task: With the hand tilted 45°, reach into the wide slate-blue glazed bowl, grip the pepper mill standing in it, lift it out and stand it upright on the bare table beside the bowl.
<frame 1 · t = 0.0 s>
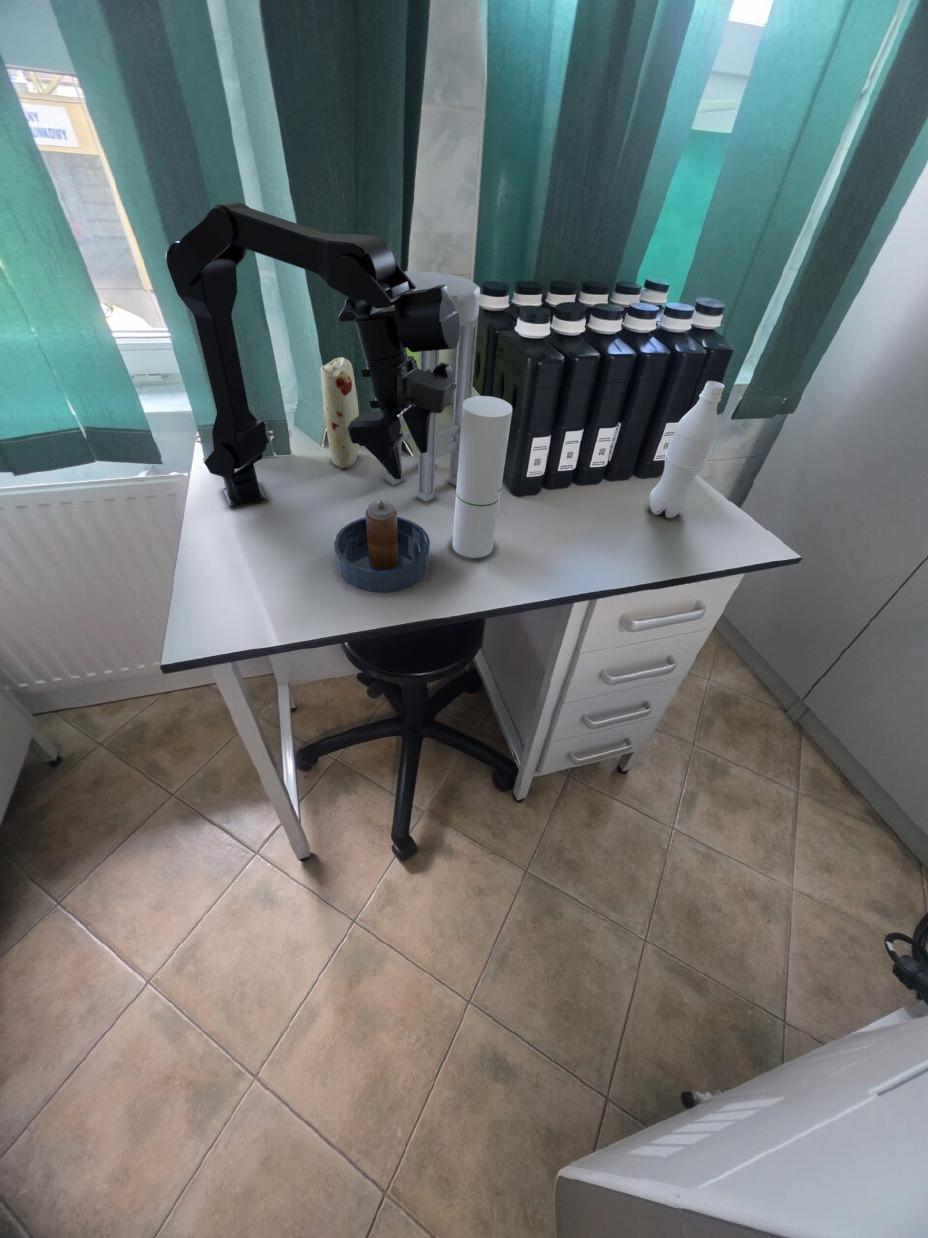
hand: (411, 465, 78), 15 cm above the table, tool pointing down, fingers open, 9 cm apart
cylindrical container: (472, 548, 90), on the table
food model: (346, 461, 108), on the table
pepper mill: (383, 561, 84), resting on bowl
bowl: (383, 563, 85), on the table
water bottle: (662, 511, 103), on the table
stool: (425, 482, 104), on the table
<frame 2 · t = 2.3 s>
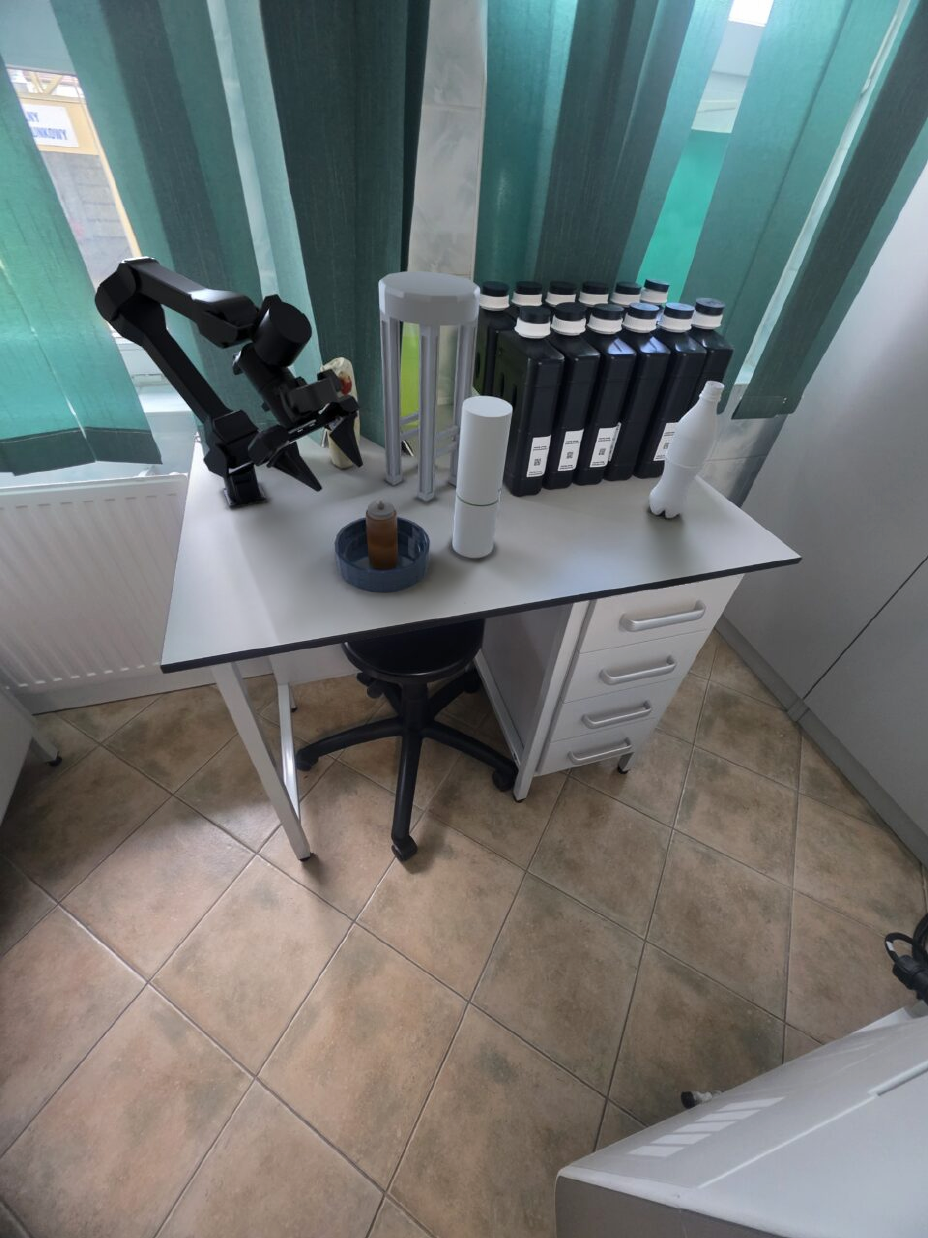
hand: (341, 478, 78), 13 cm above the table, tool tilted 45°, fingers open, 9 cm apart
nothing on the table moved.
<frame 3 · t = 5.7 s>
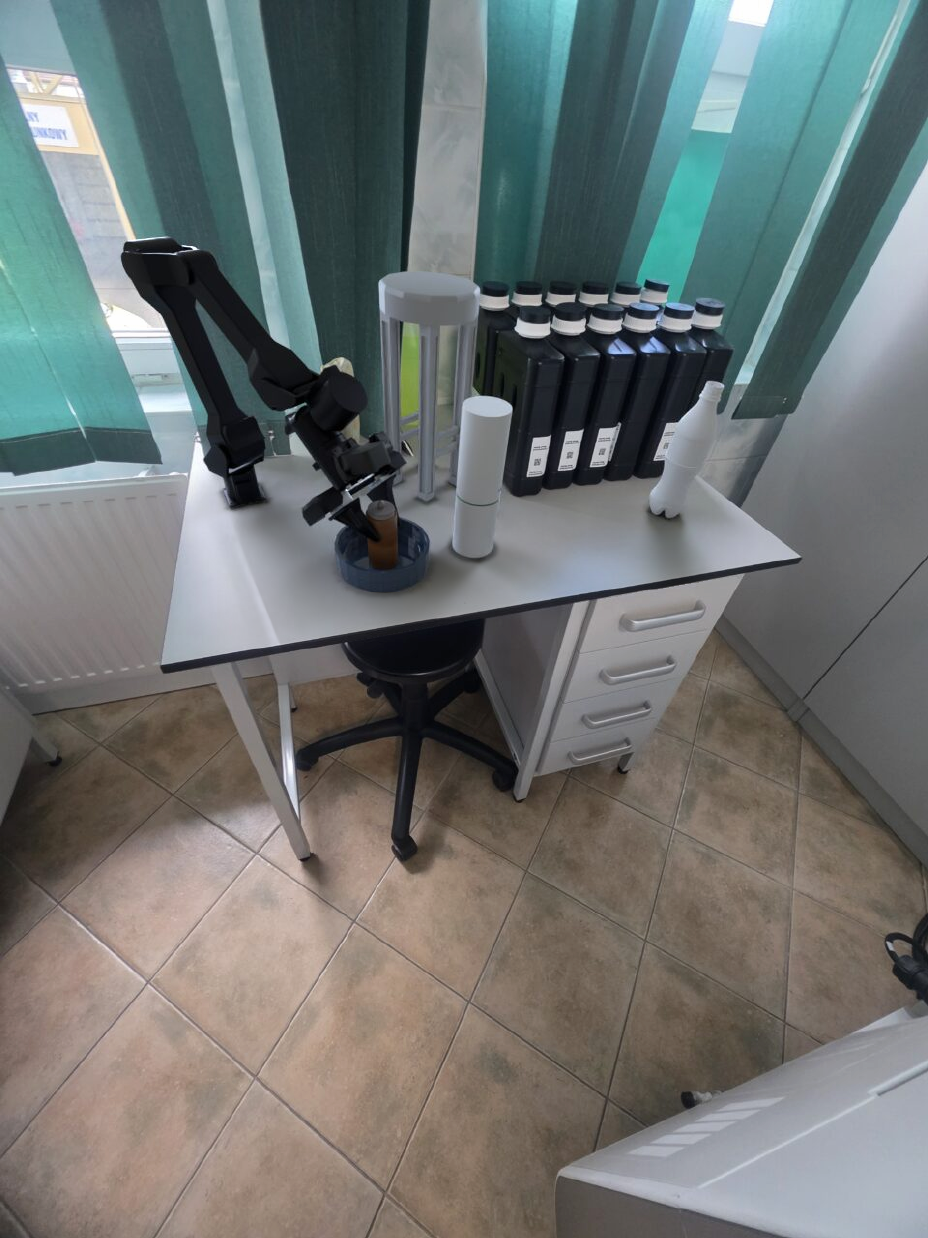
hand: (388, 533, 79), 7 cm above the table, tool tilted 45°, fingers closed on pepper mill, 5 cm apart
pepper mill: (383, 561, 84), point 1 cm above the table, touching bowl, gripper
everything else where it was.
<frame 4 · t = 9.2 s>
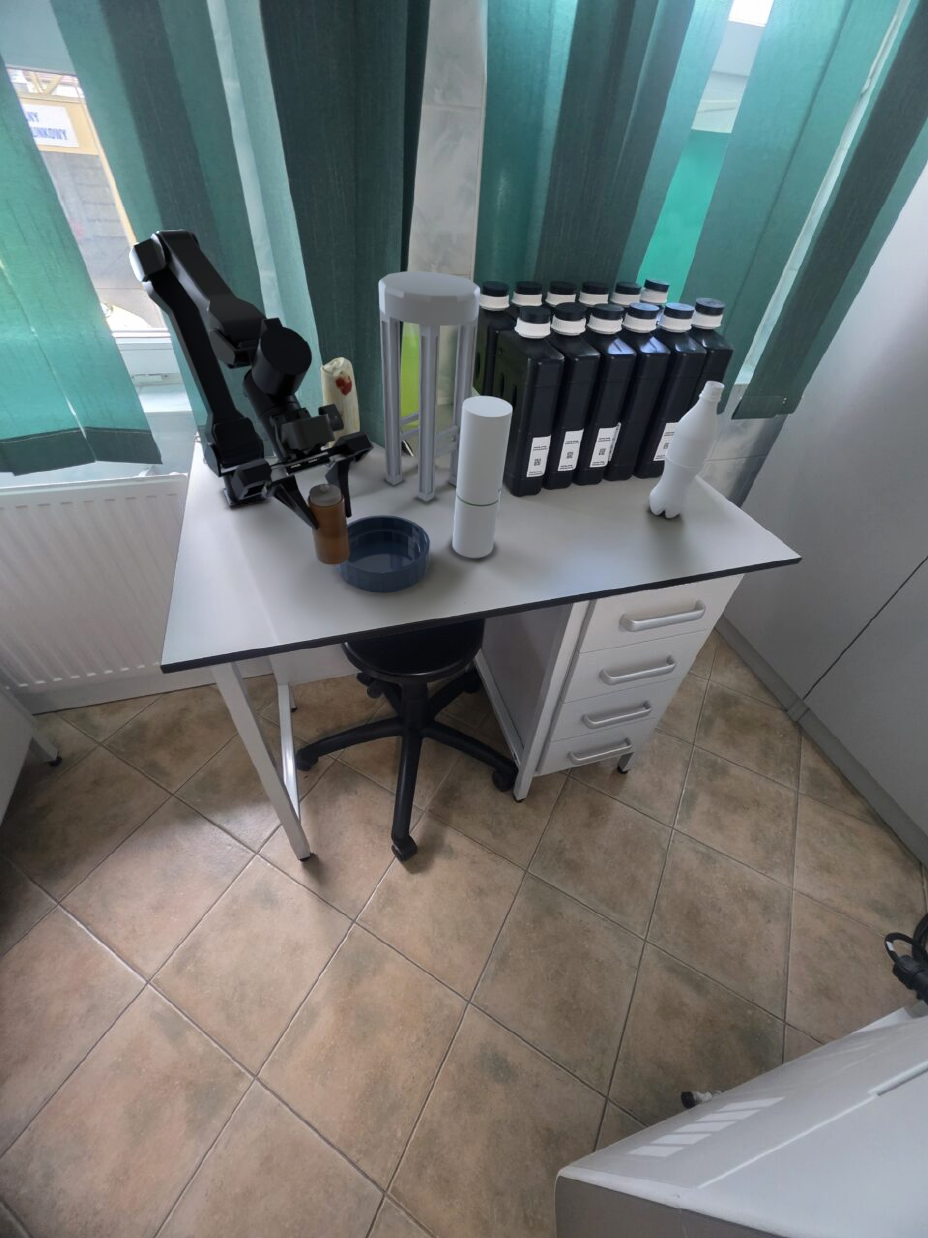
hand: (333, 523, 69), 13 cm above the table, tool tilted 45°, fingers closed on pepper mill, 5 cm apart
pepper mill: (333, 554, 74), point 7 cm above the table, touching gripper
everything else where it was.
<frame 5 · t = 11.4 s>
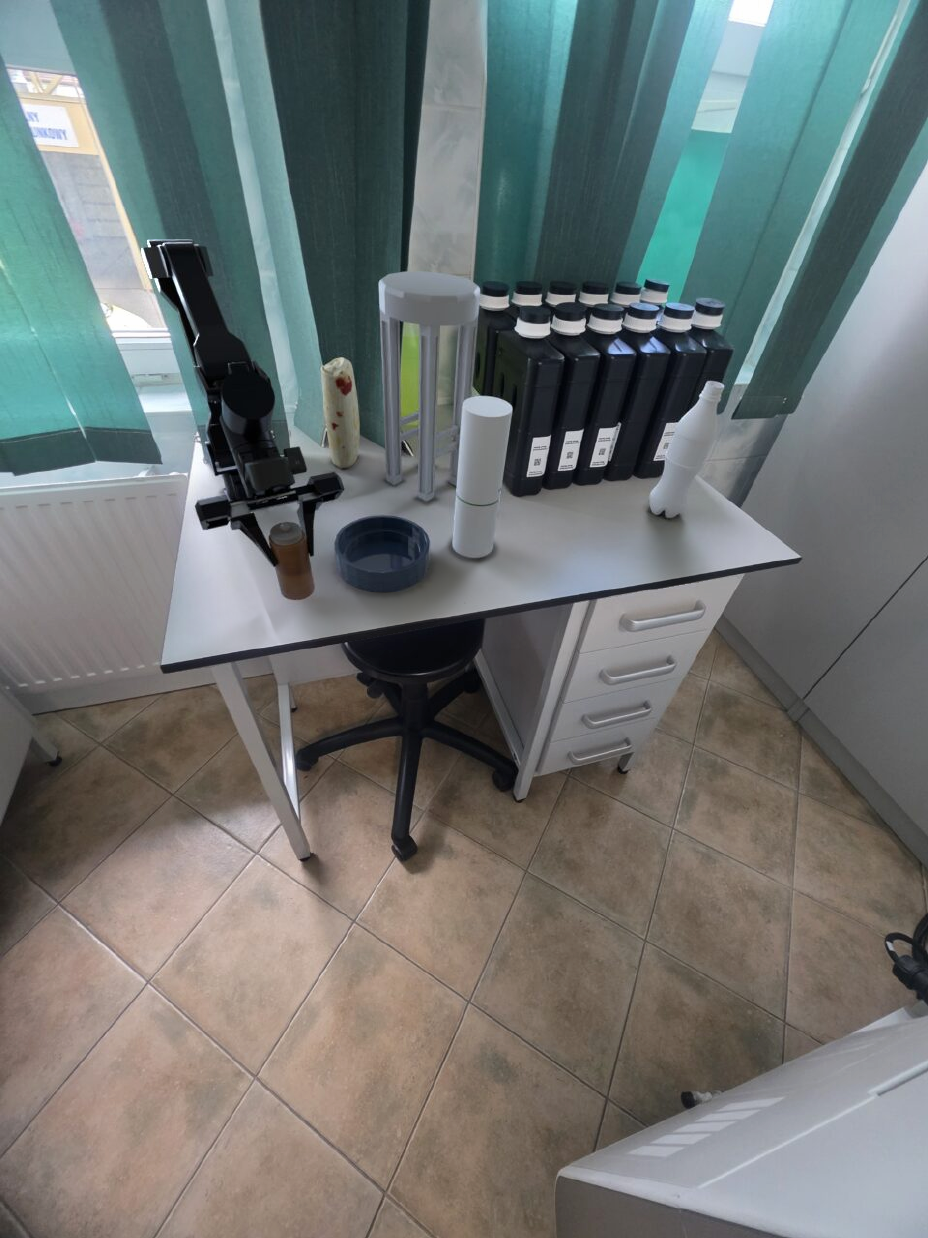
hand: (293, 561, 69), 9 cm above the table, tool tilted 45°, fingers closed on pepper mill, 5 cm apart
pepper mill: (298, 589, 74), point 3 cm above the table, touching gripper
everything else where it was.
when the fingers open (6 cm above the table, at t = 12.7 s): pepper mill stays where it is, on the table.
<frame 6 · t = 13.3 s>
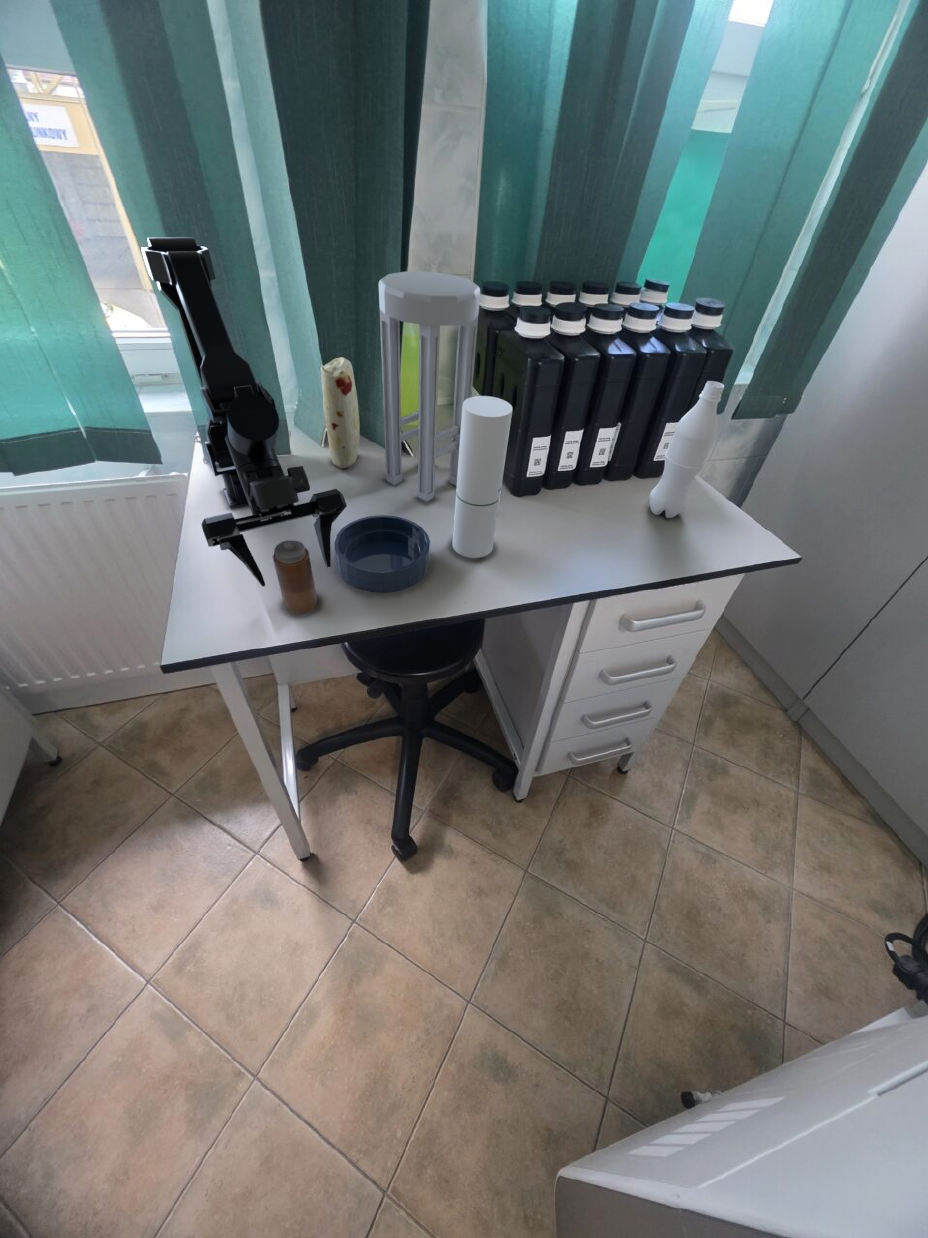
hand: (297, 576, 71), 7 cm above the table, tool tilted 45°, fingers open, 9 cm apart
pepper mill: (301, 604, 76), on the table
everything else where it was.
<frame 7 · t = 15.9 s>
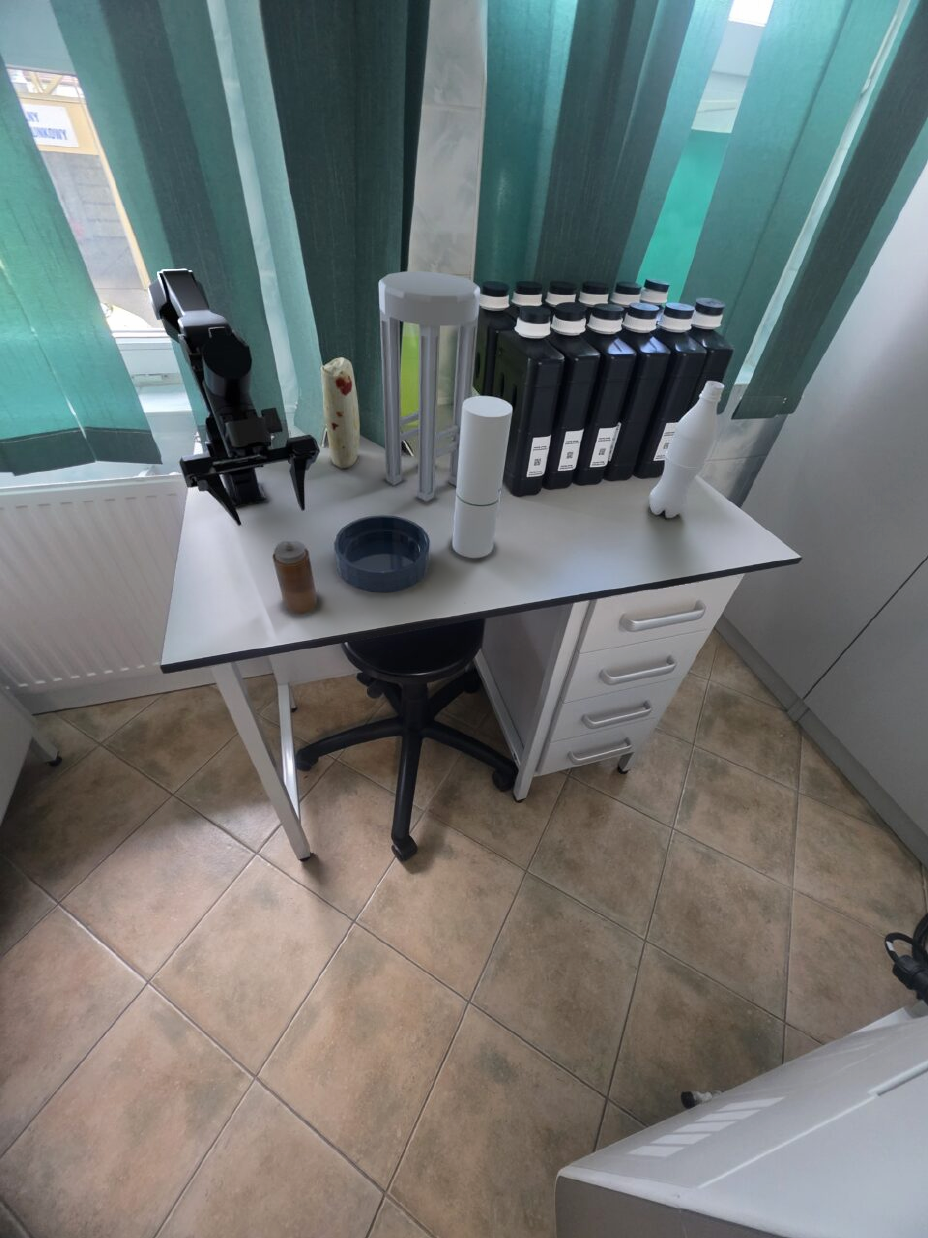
hand: (272, 517, 74), 10 cm above the table, tool tilted 45°, fingers open, 9 cm apart
nothing on the table moved.
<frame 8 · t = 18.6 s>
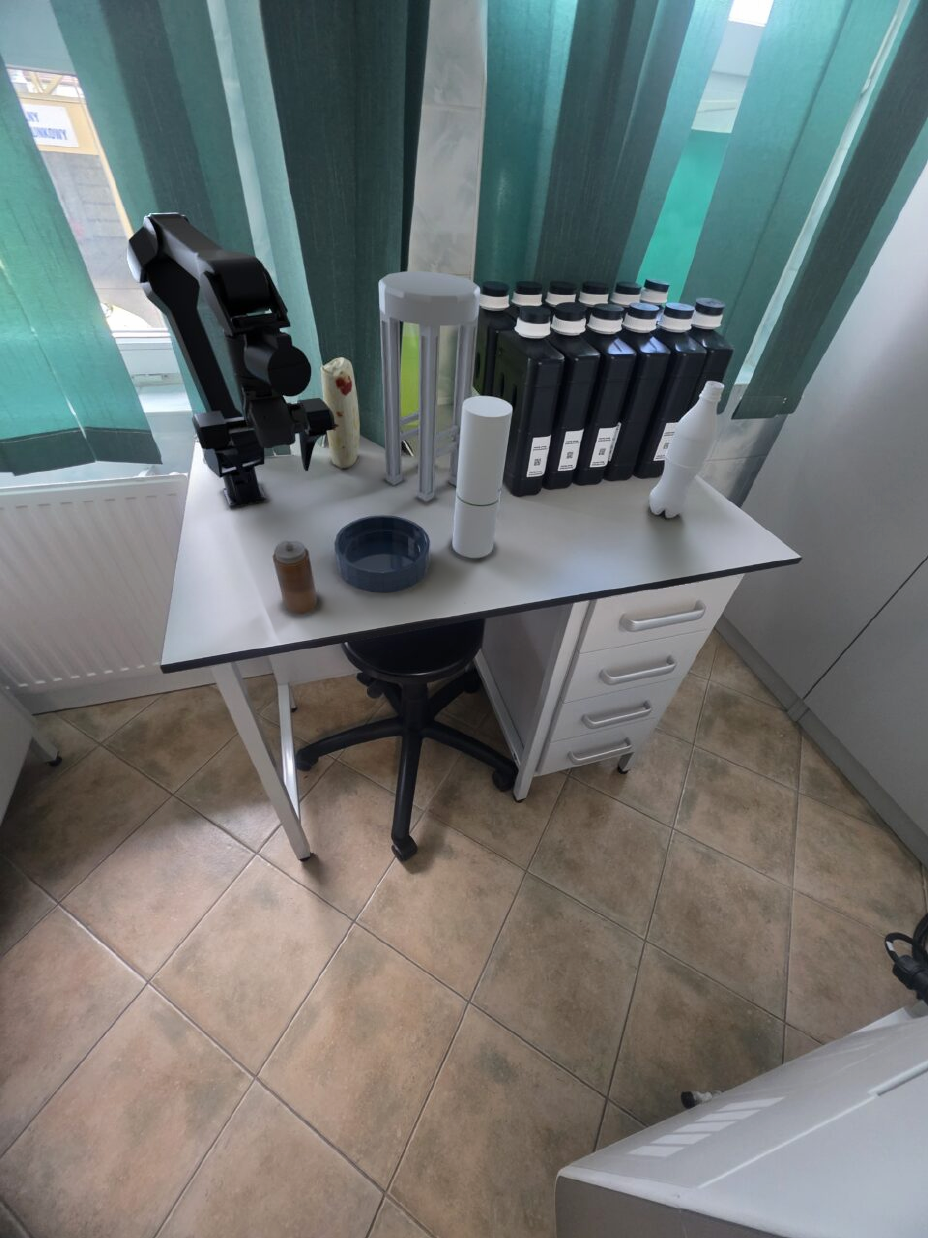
hand: (276, 475, 79), 12 cm above the table, tool pointing down, fingers open, 9 cm apart
nothing on the table moved.
at the end: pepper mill 0.0 cm from the target spot, on the table; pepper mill tilted 0°; the gripper is holding nothing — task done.
